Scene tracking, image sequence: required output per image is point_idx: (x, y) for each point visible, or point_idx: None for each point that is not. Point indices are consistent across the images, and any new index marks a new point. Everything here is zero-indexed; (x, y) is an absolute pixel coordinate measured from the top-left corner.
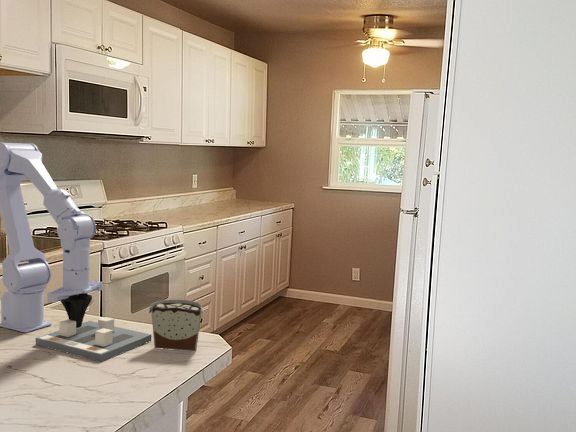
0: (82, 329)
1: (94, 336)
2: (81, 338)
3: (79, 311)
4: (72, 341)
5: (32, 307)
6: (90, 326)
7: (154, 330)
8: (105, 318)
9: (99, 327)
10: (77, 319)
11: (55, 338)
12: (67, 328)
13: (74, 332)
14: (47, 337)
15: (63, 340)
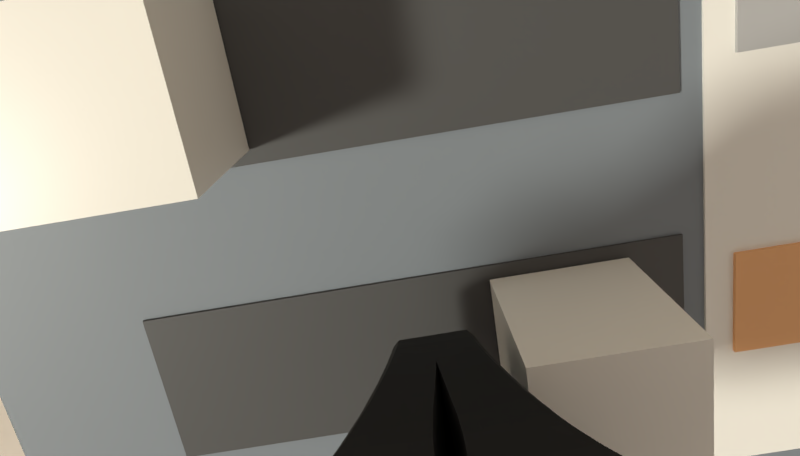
0: (323, 375)
1: (386, 35)
2: (554, 93)
3: (526, 450)
4: (712, 69)
5: None
6: (185, 406)
7: None
8: (47, 165)
9: (223, 139)
10: (512, 377)
11: (755, 301)
12: (676, 308)
13: (523, 286)
14: (764, 396)
15: (745, 185)
